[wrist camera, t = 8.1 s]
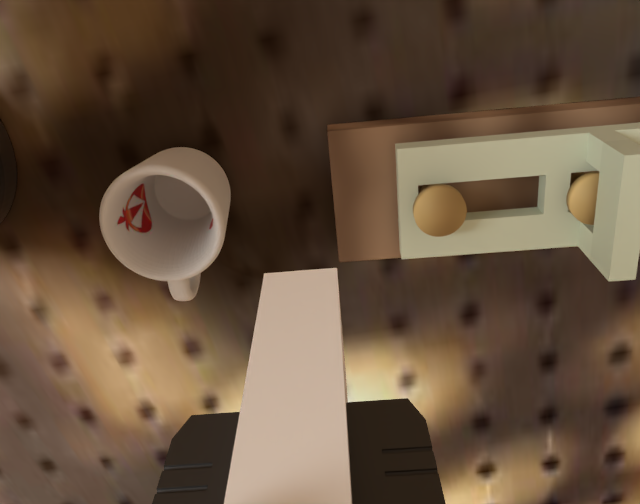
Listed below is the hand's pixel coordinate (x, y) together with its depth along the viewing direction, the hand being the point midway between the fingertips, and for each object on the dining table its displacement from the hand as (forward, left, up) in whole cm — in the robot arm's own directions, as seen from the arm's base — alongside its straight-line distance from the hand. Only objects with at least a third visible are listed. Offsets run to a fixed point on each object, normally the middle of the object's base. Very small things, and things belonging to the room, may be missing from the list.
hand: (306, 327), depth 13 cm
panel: (+17, 0, -29) cm, 33 cm away
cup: (-5, -13, -32) cm, 35 cm away
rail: (+15, -1, -32) cm, 35 cm away
